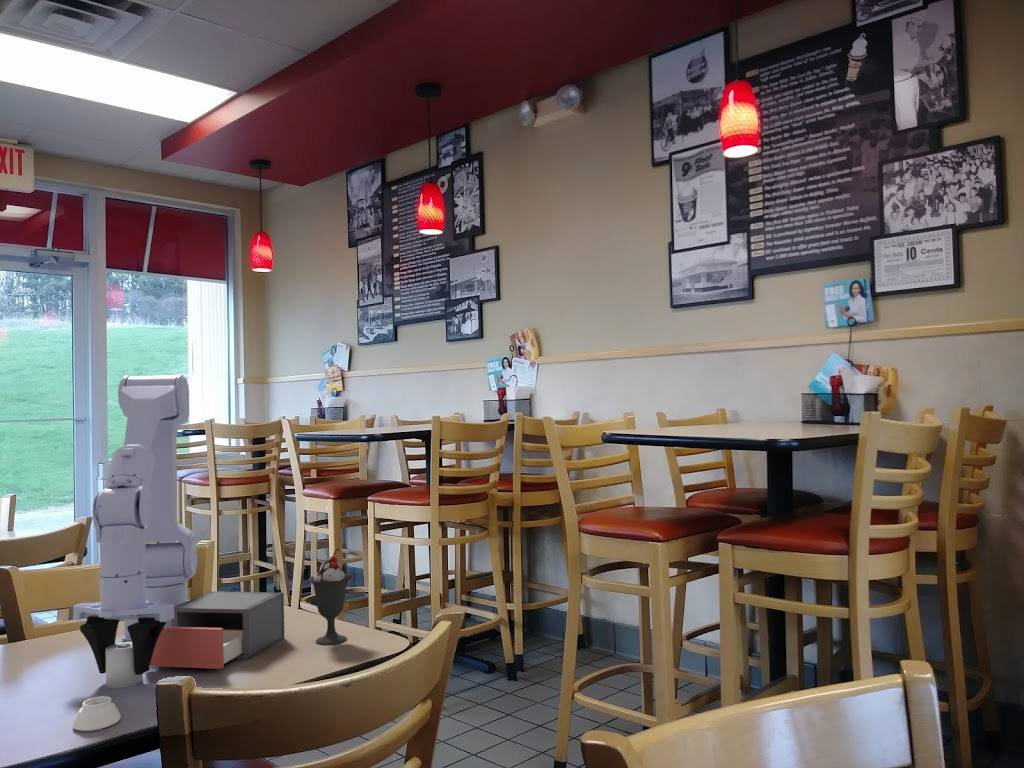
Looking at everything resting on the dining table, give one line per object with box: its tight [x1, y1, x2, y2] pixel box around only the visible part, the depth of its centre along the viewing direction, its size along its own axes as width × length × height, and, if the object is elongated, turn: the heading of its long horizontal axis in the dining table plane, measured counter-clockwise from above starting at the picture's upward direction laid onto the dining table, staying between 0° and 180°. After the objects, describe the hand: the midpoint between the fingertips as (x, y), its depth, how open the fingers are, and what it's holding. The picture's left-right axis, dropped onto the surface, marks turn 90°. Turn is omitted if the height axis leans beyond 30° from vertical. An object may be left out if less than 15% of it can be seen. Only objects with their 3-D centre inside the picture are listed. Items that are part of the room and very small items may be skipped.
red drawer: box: [150, 627, 243, 670], centre depth 119 cm, size 12×11×6 cm
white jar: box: [72, 695, 122, 732], centre depth 96 cm, size 5×3×5 cm
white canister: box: [105, 641, 144, 689], centre depth 111 cm, size 5×5×5 cm
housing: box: [172, 591, 285, 660], centre depth 126 cm, size 13×11×7 cm
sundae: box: [308, 547, 352, 646], centre depth 128 cm, size 7×7×15 cm
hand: (124, 671), depth 111 cm, fingers open, 5 cm apart
